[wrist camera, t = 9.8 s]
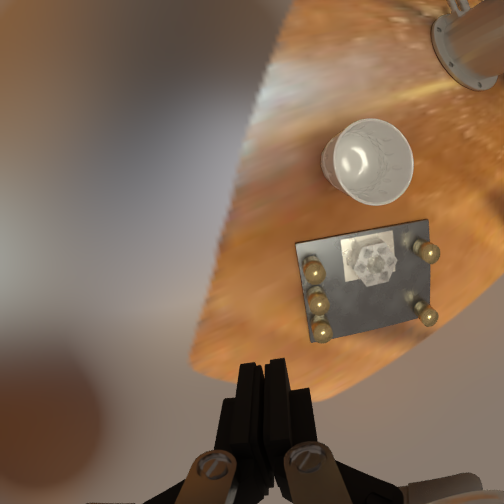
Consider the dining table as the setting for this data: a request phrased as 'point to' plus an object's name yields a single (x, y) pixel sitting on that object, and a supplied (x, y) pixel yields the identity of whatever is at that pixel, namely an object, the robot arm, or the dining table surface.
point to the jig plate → (355, 291)
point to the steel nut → (383, 264)
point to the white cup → (369, 162)
